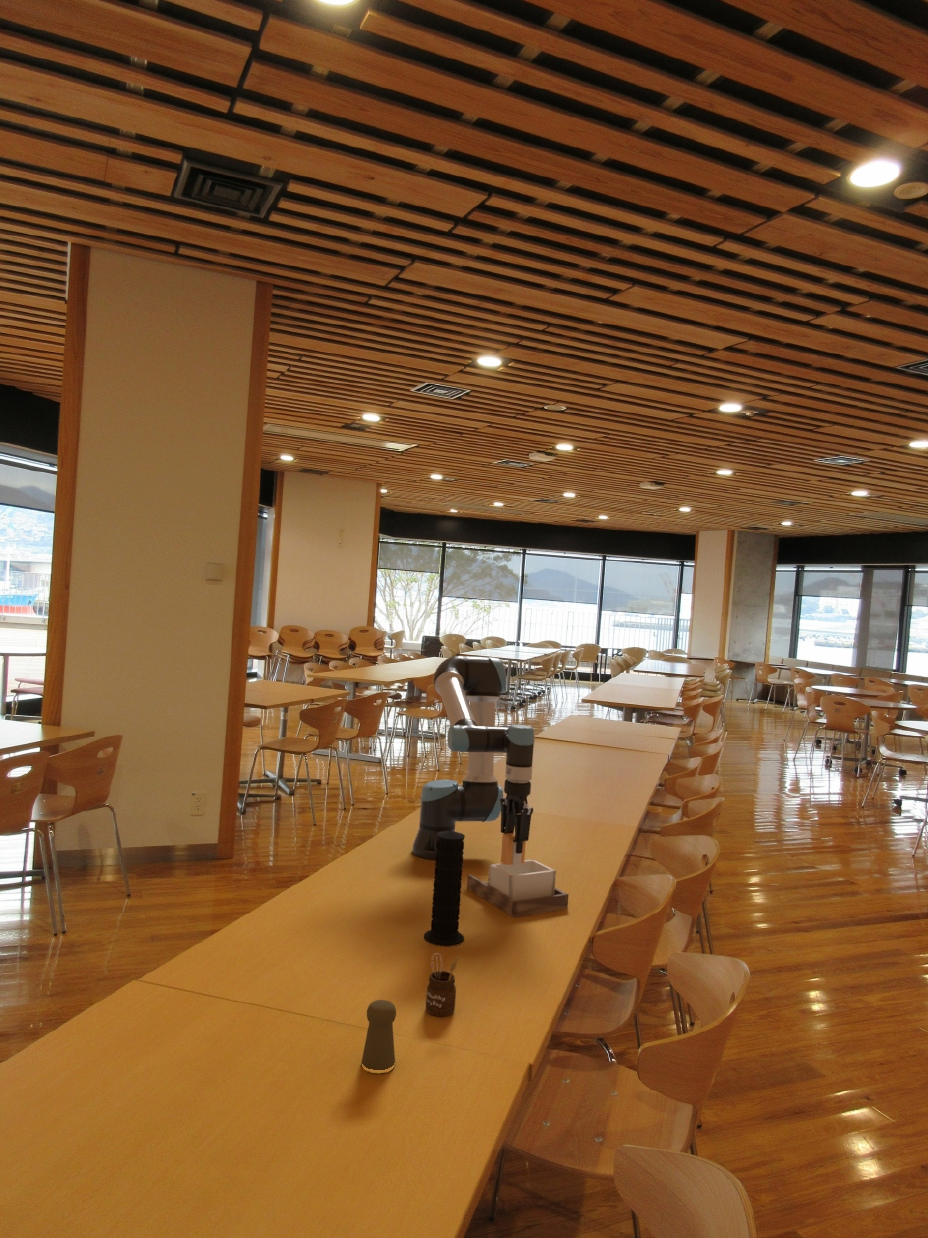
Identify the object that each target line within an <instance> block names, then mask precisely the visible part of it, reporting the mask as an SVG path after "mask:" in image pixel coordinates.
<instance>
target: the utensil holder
mask: <svg viewBox="0 0 928 1238" xmlns="http://www.w3.org/2000/svg"><path fill="white" fill-rule="evenodd" d="M437 955H439V958H440V959H439V960H440V961H441V962H444V961H443V959H444V958H442V956H441V954H440V953H439V952H435V953H433V954H432V955H431V958H430V959H434V957H436V961H438V956H437ZM459 957H460V956H459V955H457V956H455V957H453V958H452V961H451V964H450V967H449V971H444V970H443V969H444V968H443V963H440V970H439V969H436V971H435V968H434V965H433V962H430V963H431V964H430V965H431V967H432V968H431V969H432V973H430V974H429V979H428V982H429V983H428V984H427V987H426V995H425V1009H426V1012H427V1013H428V1014H429V1015H432V1016H434V1017H441V1018H442V1017H449V1016H451V1015H452V1014H453V1013H454V1011H455V1010H456V998H457V997H456V995H457V989H456V985H455V984H456V983H455V982H456V978H455V975H454V974H453V972H454V971H455V970H456V968H457V965H458V964H457V963H458V960H459ZM441 958H442V959H441ZM432 965H433V966H432ZM438 966H439V965H438V963H436V968H439V967H438Z"/></svg>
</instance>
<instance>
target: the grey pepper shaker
mask: <svg viewBox="0 0 928 1238" xmlns="http://www.w3.org/2000/svg"><path fill="white" fill-rule="evenodd" d="M396 1016H397V1008H396V1006H395V1004H394V1003H393V1002H391V1001H389V1000H386V999H377V1000H374V1001H372V1002H371V1003H369V1005H368V1007H367V1010H366V1017H367V1021H368V1028H367V1031H366V1037H365V1042H364V1047H363V1051H362V1058H361V1062H362V1064H363V1065H364V1066H365V1067H366V1068H368V1069H373V1070H385V1069H388V1068H390V1067H392V1066H393V1065H394V1063H395V1064H396V1054H395V1042H394V1041H395V1039H394V1027H393V1026H394V1025H393V1023H394V1022H395V1020H396Z"/></svg>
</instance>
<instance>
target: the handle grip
mask: <svg viewBox="0 0 928 1238" xmlns="http://www.w3.org/2000/svg"><path fill="white" fill-rule="evenodd" d="M465 837H466V836H465V834H464V833H462V832H459V831H455V832H454V831H443V832H439V833H437V839H438V840H437V843H436V848H437V850H436V858H435V859H434V860H435V863H434V866H435V867H434V876H433V879H434V881H433V890H432V891H433V894H432V908H431V923H430V927H431V928H430V929H429V930H427V931H426V932H425V933H424V934H423V938H424V941H426V942H427V943H429V944H431V945H434V944H435V946H438V945H440V947H453V946H452V945H455V946H458V945H461V944H463V943H464V941H465V935H464V934H462V933H461V932H460V931H459V926H460V924H459V923H460V922H459V920H460V913H461V912H460V911H461V909H460V907H461V900H462V899H461V893H462V891H461V889H462V880H463V878H462V877H463V867H464V865H463V863H464V854H465V853H464V849H465V842H464V840H465ZM457 944H458V945H457Z"/></svg>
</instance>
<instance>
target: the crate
mask: <svg viewBox="0 0 928 1238" xmlns="http://www.w3.org/2000/svg"><path fill="white" fill-rule="evenodd" d="M501 838H502V841H501V852H500V853H501V854H500V855H501V856H500V862H498V863H492V864H488V866H489V867H488V877H487V878H488V880H487V881H488V885H489V886H491V887H493V888H494V889H496V890H498V891H500V892H501V893H503V894H505V895H506V896H508V897H510V898H511V899H513V900H515V901H518V900H525V899H532V898H538V897H545V896H552V895H554V892H555V888H556V876H557V871H556V870H555V869H553V868H552V867H549V866H547V865H546V864H544V863H541V862H539V861H537V860H535V859H533V858H532V859H526V855H525V853H526V842H527V841H524V842H523V849H522V855H521V864H516V865H512V850H513V840H515V832H514V833H507V834H504V833H502V837H501ZM525 859H526V860H525Z"/></svg>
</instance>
